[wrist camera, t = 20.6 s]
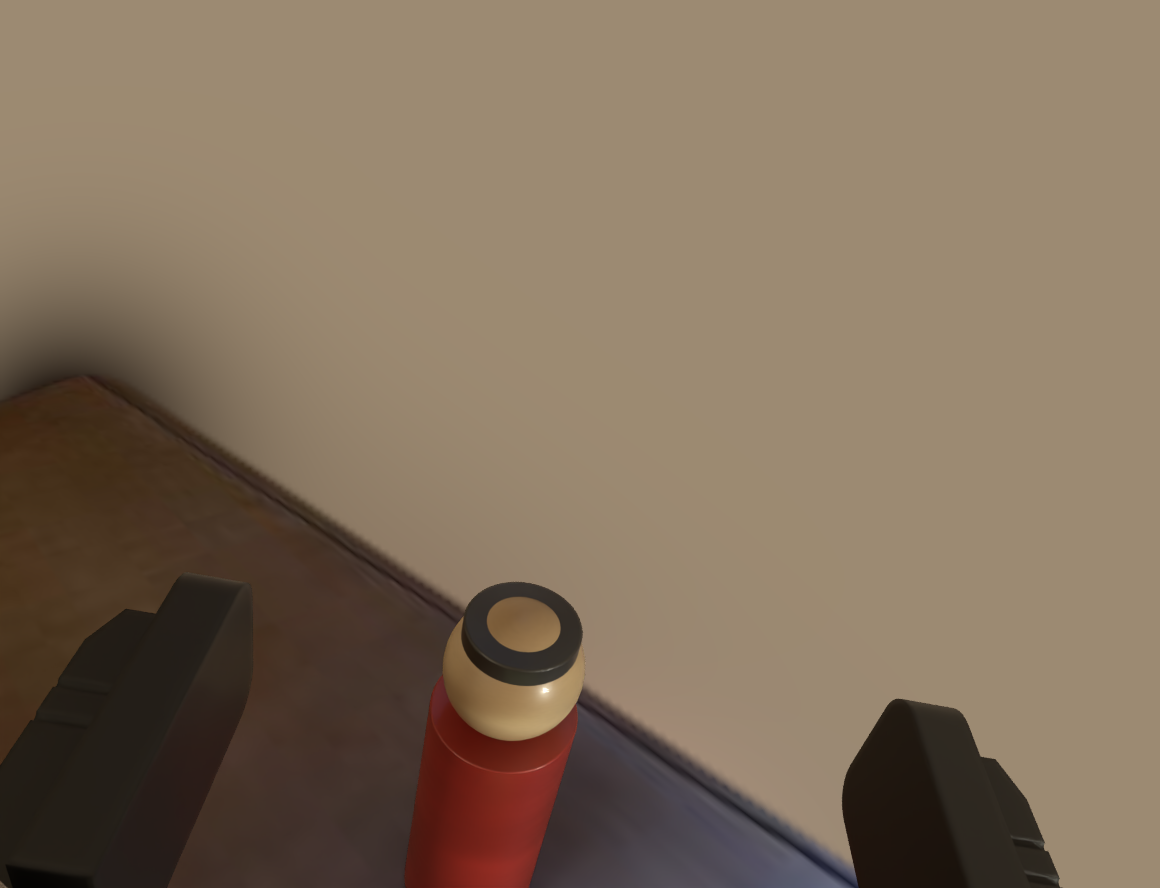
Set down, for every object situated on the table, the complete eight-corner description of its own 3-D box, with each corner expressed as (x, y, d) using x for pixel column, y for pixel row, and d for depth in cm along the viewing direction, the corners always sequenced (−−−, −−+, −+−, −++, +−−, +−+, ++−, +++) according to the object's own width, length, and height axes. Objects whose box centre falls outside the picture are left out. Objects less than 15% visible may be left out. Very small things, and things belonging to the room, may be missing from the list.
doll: (377, 891, 33) (410, 626, 25) (451, 795, 37) (500, 539, 29) (486, 965, 32) (556, 709, 24) (551, 858, 35) (630, 607, 27)
